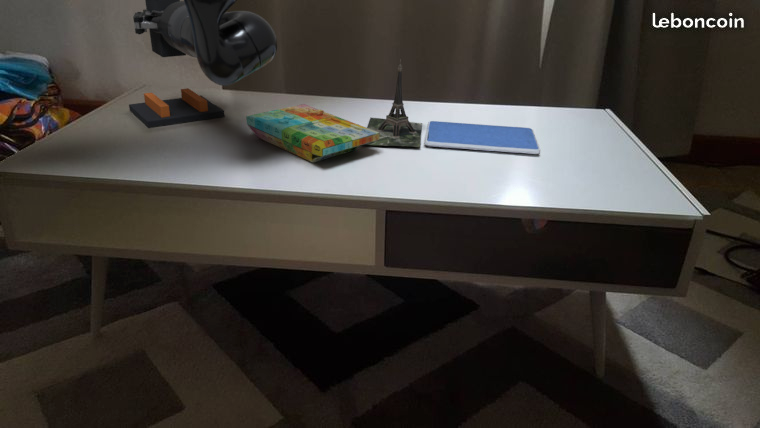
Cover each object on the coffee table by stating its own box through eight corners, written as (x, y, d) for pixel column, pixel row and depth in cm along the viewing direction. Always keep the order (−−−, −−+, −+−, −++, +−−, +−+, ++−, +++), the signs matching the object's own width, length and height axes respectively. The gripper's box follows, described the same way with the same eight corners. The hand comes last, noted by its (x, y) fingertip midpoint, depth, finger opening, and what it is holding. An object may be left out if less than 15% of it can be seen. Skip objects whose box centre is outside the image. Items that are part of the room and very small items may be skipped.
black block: (162, 57, 97) (154, -6, 92) (152, 51, 101) (143, -10, 97) (186, 55, 99) (179, -6, 94) (174, 49, 103) (167, -10, 99)
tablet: (423, 148, 96) (424, 140, 95) (427, 125, 107) (428, 118, 107) (540, 158, 94) (541, 150, 94) (531, 134, 105) (533, 127, 105)
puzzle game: (301, 99, 103) (379, 127, 90) (302, 124, 105) (378, 155, 92) (245, 110, 95) (322, 143, 83) (247, 137, 97) (322, 173, 85)
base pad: (148, 128, 100) (145, 110, 98) (129, 110, 108) (126, 93, 107) (224, 116, 107) (223, 100, 106) (201, 101, 116) (200, 85, 114)
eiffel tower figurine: (369, 120, 109) (371, 48, 103) (422, 123, 108) (427, 51, 102) (361, 146, 96) (363, 66, 90) (421, 150, 95) (428, 70, 89)
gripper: (235, 2, 89) (197, -9, 101) (141, 6, 82) (112, -7, 94) (239, 51, 93) (201, 34, 105) (149, 59, 85) (119, 40, 97)
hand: (159, 15), depth 99 cm, fingers closed on black block, 4 cm apart
